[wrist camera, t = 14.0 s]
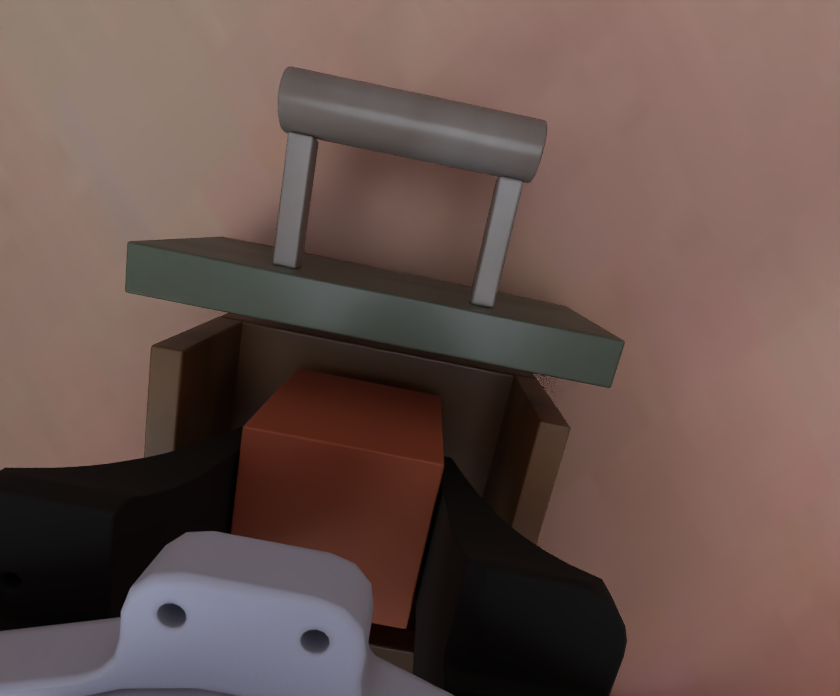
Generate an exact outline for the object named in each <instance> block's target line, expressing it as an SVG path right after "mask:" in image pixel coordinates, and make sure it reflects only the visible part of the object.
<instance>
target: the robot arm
mask: <svg viewBox="0 0 840 696" xmlns="http://www.w3.org/2000/svg"><path fill="white" fill-rule="evenodd" d="M242 430H243V426H242V427H239V428H237V429H234V430H232V431H229V432H227V433H224V434H221V435H219V436H216V437H214V438H211V439H208V440H205V441H202V442H200V443H197V444H194V445H191V446H188V447H185V448H182V449H178V450H175V451H171V452H168V453H164V454H159V455H155V456H151V457H146V458H141V459H135V460H129V461H123V462H116V463H110V464H102V465H92V466H79V467H63V468H4V469H2V470H1V471H0V696H609V694H610V692H611V689H612V686H613V684H614V681H615V678H616V676H617V673H618V670H619V668H620V665H621V662H622V660H623V657H624V653H625V648H626V643H627V638H626V629H625V625H624V623H623V620H622V618H621V616H620V614H619V612H618V609H617V607H616V605H615V603H614V601H613V598H612V596H611V595H610V593H609V591H608V589H607V587H606V585H605V584H604V582H603V580H602V579H600V578H598V577H596V576H594V575H591V574H589V573H587V572H585V571H582V570H580V569H578V568H576V567H574V566H571V565H569V564H567V563H565V562H564V561H562V560H560V559H558V558H557V557H555V556H553V555H551V554H549V553H548V552H546V551H545V550H543V549H541V548H540V547H538V546H537V545H535V544H534V543H532V542H531V541H529V540H528V539H527V538H525V537H524V536H522V535H521V534H520V533H518V532H517V531H516V530H515V529H513V528H512V527H511V526H510V525H509V524H508V523H506V522H505V521H504V520H503V519H502V518H501V517H500V516H499V515H498V514H497V513H496V512H494V511H493V510H492V508H491V507H490V506H489V505H488V504H487V503H486V502H485V501H484V500H483V499H482V498H481V496H480V495H479V494H478V493H477V492H476V490H475V489H474V488H473V487H472V485H471V484H470V483H469V481H468V480H467V479H466V477H465V476H464V475H463V473H462V472H461V470H460V469H459V468H458V466H457V465H456V463H455V462H454V460H453V459H452V458H451V457H446V456H444V469H443V473H442V478H441V482H440V486H439V491H438V495H437V499H436V503H435V508H434V512H433V516H432V521H431V525H430V529H429V534H428V538H427V542H426V547H425V551H424V555H423V559H422V564H421V568H420V572H419V577H418V581H417V585H416V590H415V604H416V630H415V644H414V657H413V670H412V674H411V673H409V672H407V671H405V670H403V669H401V668H399V667H397V666H395V665H393V664H391V663H389V662H387V661H386V660H384V659H382V658H380V657H378V656H376V655H375V654H374V653H373V652H372V650H371V649H370V646H369V643H368V641H369V634H370V628H371V621H372V614H373V608H374V604H373V595H372V585H371V582H370V581H369V580H368V579H367V577H366V576H365V575H364V574H363V572H362V571H361V570H360V569H359V567H358V566H357V565H356V564H355V563H353V562H351V561H348V560H346V559H344V558H341V557H339V556H337V555H334V554H332V553H329V552H324V551H319V550H313V549H308V548H302V547H297V546H292V545H286V544H281V543H276V542H270V541H265V540H259V539H254V538H249V537H243V536H238V535H233V534H231V525H232V516H233V508H234V499H235V490H236V482H237V473H238V465H239V456H240V447H241V439H242Z"/></svg>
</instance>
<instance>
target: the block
mask: <svg viewBox="0 0 840 696" xmlns="http://www.w3.org/2000/svg"><path fill="white" fill-rule="evenodd" d="M443 469H444V453H443V434H442V415H441V397H440V396H438V395H433V394H428V393H423V392H417V391H412V390H407V389H402V388H397V387H392V386H387V385H382V384H377V383H372V382H366V381H361V380H356V379H351V378H346V377H341V376H336V375H331V374H326V373H320V372H315V371H310V370H305V369H300V368H298V369H297V370H296V371H295V372H294V373H293V374H292V375H291V376H290V377H289V378H288V379H287V380H286V381H285V382H284V383H283V384H282V386H281V387H280V388H279V389H278V390H277V391H276V392H275V393H274V394H273V395H272V396H271V397H270V398H269V399H268V400H267V402H266V403H265V404H264V405H263V406H262V407H261V408H260V409H259V410H258V411H257V412H256V413H255V414H254V415H253V416H252V418H251V419H250V420H249V421H248V422H247V423H246V424H245V425H244V426H243V430H242V439H241V447H240V456H239V465H238V473H237V482H236V490H235V499H234V508H233V516H232V525H231V534H233V535H238V536H243V537H249V538H254V539H259V540H265V541H270V542H276V543H281V544H286V545H292V546H297V547H302V548H308V549H313V550H319V551H324V552H329V553H332V554H334V555H337V556H339V557H341V558H344V559H346V560H348V561H351V562H353V563H355V564H356V565H357V566H358V567H359V569H360V570H361V571H362V572H363V574H364V575H365V576H366V577H367V579H368V580H369V581H370V582H371V585H372V595H373V604H374V608H373V614H372V621H371V623H375V624H381V625H386V626H392V627H397V628H403V629H406V627H407V624H408V620H409V615H410V611H411V607H412V603H413V598H414V594H415V590H416V585H417V581H418V577H419V572H420V568H421V564H422V559H423V555H424V551H425V547H426V542H427V538H428V534H429V529H430V525H431V521H432V516H433V512H434V508H435V503H436V499H437V495H438V491H439V486H440V482H441V478H442V473H443Z"/></svg>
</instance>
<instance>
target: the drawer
mask: <svg viewBox="0 0 840 696" xmlns="http://www.w3.org/2000/svg"><path fill="white" fill-rule="evenodd" d="M278 117H279V122H280V126H281V128H282V130H283V131H284V132H286V133H289V134H288V140H287V148H286V156H285V165H284V173H283V181H282V189H281V197H280V206H279V214H278V222H277V230H276V239H275V247H271V246H266V245H261V244H256V243H251V242H246V241H241V240H236V239H231V238H226V237H205V238H185V239H166V240H146V241H130V242H128V244H127V263H126V284H125V291H126V292H128V293H132V294H137V295H142V296H147V297H152V298H158V299H163V300H168V301H173V302H178V303H183V304H188V305H193V306H198V307H203V308H208V309H213V310H218V311H223V312H228V314H225V315H223V316H221V317H217V318H215V319H213V320H210V321H208V322H206V323H203V324H201V325H199V326H196V327H194V328H192V329H189V330H187V331H185V332H182V333H180V334H178V335H175V336H173V337H170V338H168V339H166V340H163V341H161V342H159V343H156V344H154V345H152V347H151V357H150V372H149V388H148V404H147V420H146V436H145V452H144V458H146V457H151V456H155V455H159V454H164V453H168V452H171V451H175V450H178V449H182V448H185V447H188V446H191V445H194V444H197V443H200V442H202V441H205V440H208V439H211V438H214V437H216V436H219V435H221V434H224V433H227V432H229V431H232V430H234V429H237V428H239V427H242V426H244V425H245V424H246V423H247V422H248V421H249V420H250V419H251V418H252V416H253V415H254V414H255V413H256V412H257V411H258V410H259V409H260V408H261V407H262V406H263V405H264V404H265V403H266V402H267V400H268V399H269V398H270V397H271V396H272V395H273V394H274V393H275V392H276V391H277V390H278V389H279V388H280V387H281V386H282V384H283V383H284V382H285V381H286V380H287V379H288V378H289V377H290V376H291V375H292V374H293V373H294V372H295V371H296V370H297V369H298V368H300V369H305V370H310V371H315V372H320V373H326V374H331V375H336V376H341V377H346V378H351V379H356V380H361V381H366V382H372V383H377V384H382V385H387V386H392V387H397V388H402V389H407V390H412V391H417V392H423V393H428V394H433V395H438V396H440V397H441V415H442V434H443V453H444V456H446V457H451V458H452V459H453V460H454V462H455V463H456V465H457V466H458V468H459V469H460V470H461V472H462V473H463V475H464V476H465V477H466V479H467V480H468V481H469V483H470V484H471V485H472V487H473V488H474V489H475V490H476V492H477V493H478V494H479V495H480V496H481V498H482V499H483V500H484V501H485V502H486V503H487V504H488V505H489V506H490V507H491V508H492V510H493V511H494V512H496V513H497V514H498V515H499V516H500V517H501V518H502V519H503V520H504V521H505V522H506V523H508V524H509V525H510V526H511V527H512V528H513V529H515V530H516V531H517V532H518V533H520V534H521V535H522V536H524V537H525V538H527V539H528V540H529V541H531V542H532V543H534V544H535V545H536V543H537V540H538V536H539V533H540V530H541V526H542V523H543V519H544V516H545V513H546V509H547V506H548V503H549V499H550V496H551V492H552V489H553V486H554V482H555V479H556V476H557V472H558V469H559V466H560V462H561V459H562V455H563V452H564V449H565V445H566V442H567V439H568V435H569V432H570V426H569V425H568V423H567V422H566V420H565V419H564V417H563V416H562V414H561V413H560V412H559V410H558V409H557V407H556V406H555V404H554V403H553V401H552V400H551V398H550V397H549V396H548V394H547V393H546V391H545V390H544V388H543V387H542V385H541V384H540V382H539V381H538V380H537V379H536V378H535V376H534V375H533V373H536V374H541V375H546V376H551V377H556V378H561V379H566V380H571V381H576V382H581V383H586V384H591V385H597V386H602V387H607V388H610V387H611V385H612V382H613V379H614V376H615V372H616V369H617V366H618V363H619V360H620V356H621V353H622V350H623V347H624V344H625V342H624V341H623V340H622V339H620V338H618V337H617V336H615V335H613V334H612V333H610V332H608V331H607V330H605V329H603V328H602V327H600V326H598V325H597V324H595V323H593V322H592V321H590V320H588V319H587V318H585V317H583V316H582V315H580V314H578V313H576V312H575V311H573V310H571V309H570V308H568V307H566V306H563V305H558V304H553V303H548V302H543V301H538V300H533V299H528V298H523V297H518V296H513V295H508V294H503V293H498V287H499V283H500V279H501V275H502V271H503V266H504V262H505V258H506V254H507V250H508V245H509V241H510V237H511V233H512V229H513V224H514V220H515V216H516V212H517V208H518V204H519V199H520V195H521V191H522V187H523V182H525V183H530V182H531V181H532V179H533V178H534V176H535V174H536V172H537V169H538V166H539V164H540V161H541V157H542V154H543V150H544V146H545V141H546V135H547V122H546V121H545V120H541V119H537V118H532V117H527V116H523V115H518V114H513V113H508V112H504V111H499V110H494V109H490V108H485V107H480V106H475V105H471V104H466V103H461V102H456V101H452V100H447V99H442V98H438V97H433V96H428V95H423V94H419V93H414V92H409V91H405V90H400V89H395V88H390V87H386V86H381V85H376V84H371V83H367V82H362V81H357V80H353V79H348V78H343V77H338V76H334V75H329V74H324V73H320V72H315V71H310V70H305V69H301V68H296V67H291V66H290V67H287V68H286V69H285V71H284V72H283V75H282V78H281V81H280V86H279V92H278ZM316 139H319V140H324V141H328V142H333V143H338V144H343V145H348V146H352V147H357V148H362V149H367V150H372V151H376V152H381V153H386V154H391V155H396V156H400V157H405V158H410V159H415V160H420V161H424V162H429V163H434V164H439V165H444V166H448V167H453V168H458V169H463V170H468V171H472V172H477V173H482V174H487V175H492V176H496V177H499V178H497V180H496V182H495V186H494V191H493V195H492V200H491V204H490V209H489V213H488V218H487V222H486V226H485V231H484V235H483V240H482V244H481V249H480V253H479V258H478V262H477V266H476V271H475V275H474V280H473V284H472V287H469V286H464V285H459V284H454V283H449V282H444V281H439V280H434V279H429V278H424V277H419V276H414V275H409V274H404V273H399V272H394V271H389V270H385V269H380V268H375V267H370V266H365V265H360V264H355V263H350V262H345V261H340V260H335V259H330V258H325V257H320V256H315V255H310V254H305V253H304V245H305V238H306V231H307V223H308V216H309V209H310V201H311V194H312V187H313V179H314V172H315V165H316V157H317V150H318V141H317V140H316ZM371 624H374V625H380V626H385V627H391V628H396V629H402V630H407V631H412V632H415V630H416V604H415V594H414V598H413V603H412V607H411V611H410V615H409V620H408V624H407V627H406V629H403V628H397V627H392V626H386V625H381V624H375V623H371Z"/></svg>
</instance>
